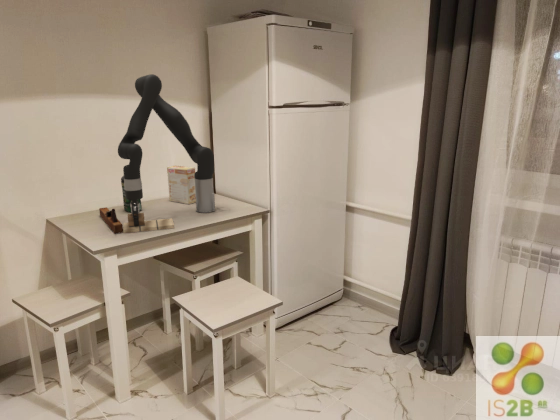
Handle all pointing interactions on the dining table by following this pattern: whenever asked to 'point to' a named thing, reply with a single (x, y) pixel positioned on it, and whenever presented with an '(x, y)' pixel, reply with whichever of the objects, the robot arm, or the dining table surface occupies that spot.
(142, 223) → the block
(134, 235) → the dining table surface
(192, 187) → the coffeecake box
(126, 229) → the board
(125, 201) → the coffee jar
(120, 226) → the hand plane
